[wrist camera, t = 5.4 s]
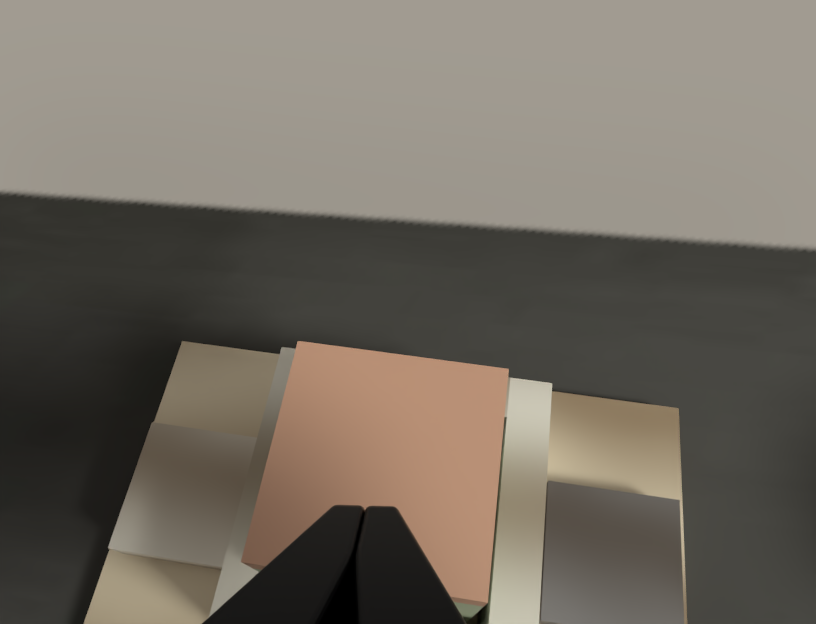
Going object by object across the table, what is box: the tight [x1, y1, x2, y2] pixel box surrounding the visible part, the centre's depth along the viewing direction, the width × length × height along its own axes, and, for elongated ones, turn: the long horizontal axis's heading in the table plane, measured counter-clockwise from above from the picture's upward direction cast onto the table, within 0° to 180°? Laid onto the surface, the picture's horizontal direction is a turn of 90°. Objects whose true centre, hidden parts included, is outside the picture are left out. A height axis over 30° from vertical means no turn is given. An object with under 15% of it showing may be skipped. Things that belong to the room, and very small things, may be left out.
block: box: [241, 341, 509, 622], centre depth 17 cm, size 5×5×8 cm
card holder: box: [84, 341, 687, 624], centre depth 20 cm, size 11×18×5 cm, turn 81°
